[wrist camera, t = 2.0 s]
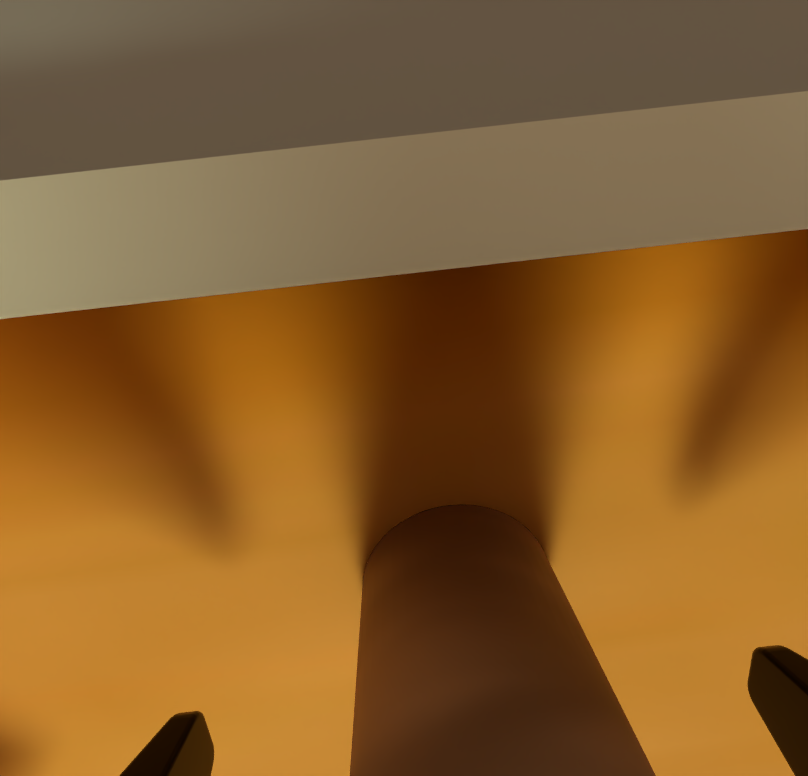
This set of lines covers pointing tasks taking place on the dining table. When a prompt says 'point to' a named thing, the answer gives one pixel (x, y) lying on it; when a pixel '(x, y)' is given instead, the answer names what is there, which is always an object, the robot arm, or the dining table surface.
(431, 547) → the walnut peg
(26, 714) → the dining table surface
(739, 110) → the open bin
